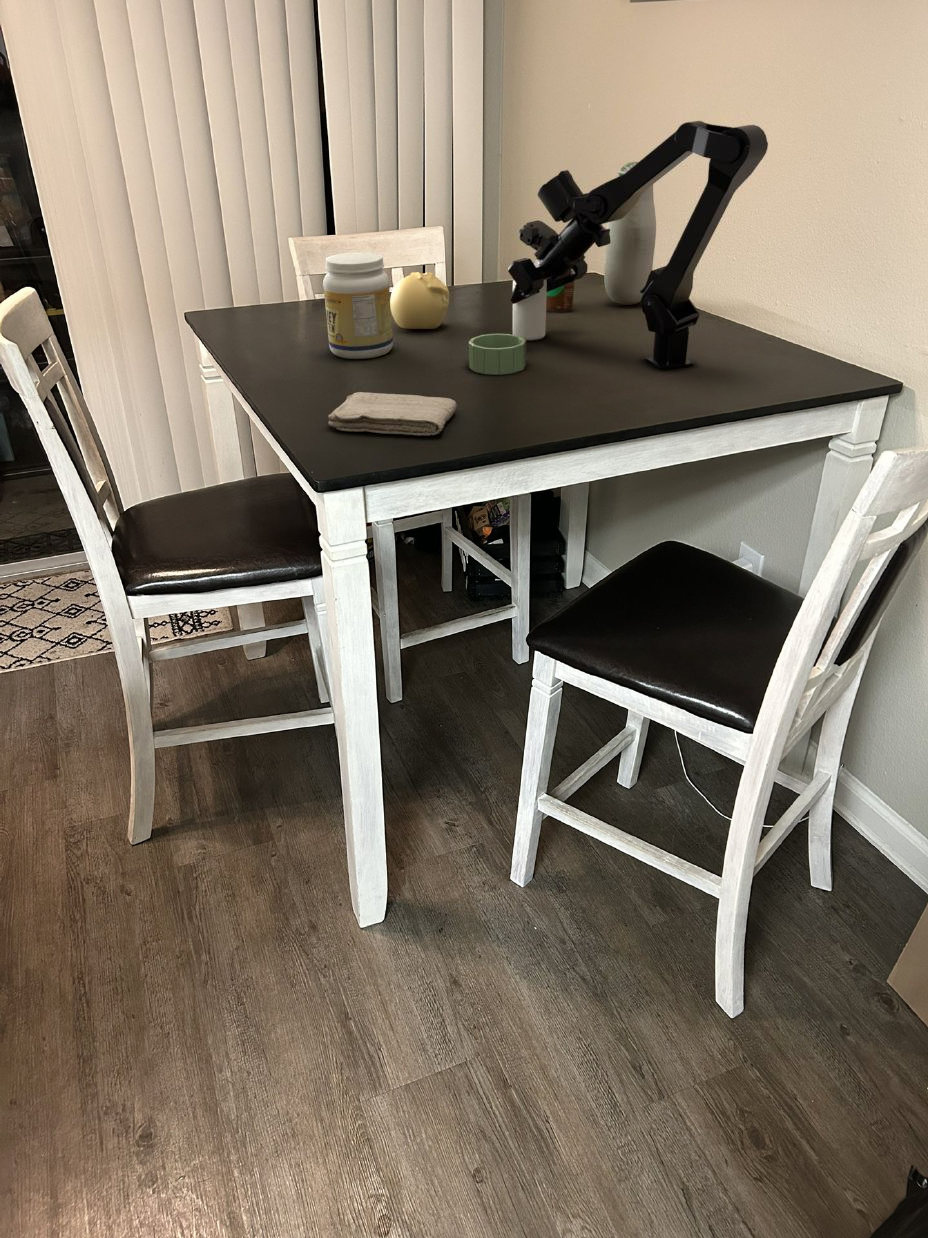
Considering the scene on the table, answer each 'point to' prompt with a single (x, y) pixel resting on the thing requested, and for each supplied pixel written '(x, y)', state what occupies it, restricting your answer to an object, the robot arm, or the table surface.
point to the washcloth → (393, 414)
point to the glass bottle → (631, 249)
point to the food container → (559, 296)
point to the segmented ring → (497, 354)
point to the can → (530, 316)
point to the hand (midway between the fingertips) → (523, 298)
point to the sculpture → (419, 301)
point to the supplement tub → (358, 305)
